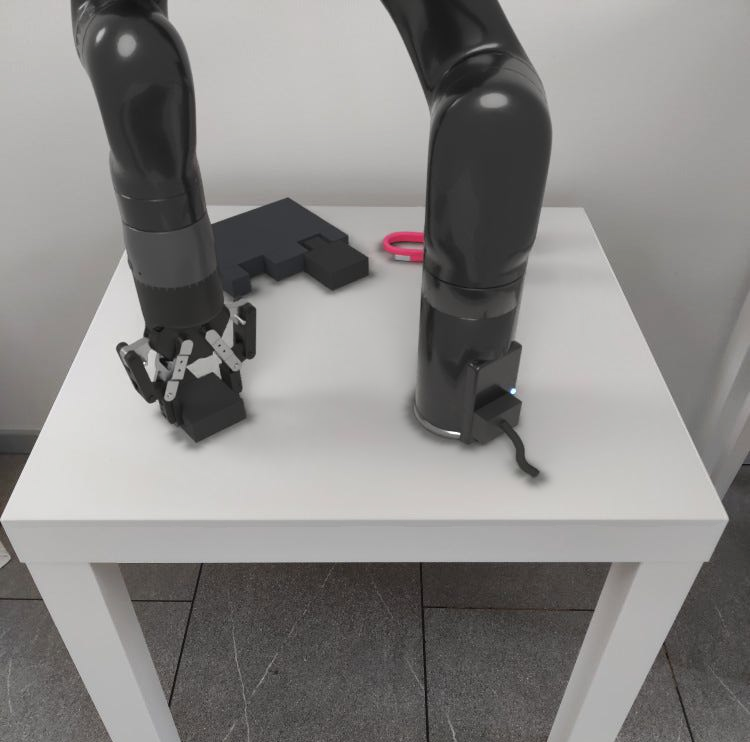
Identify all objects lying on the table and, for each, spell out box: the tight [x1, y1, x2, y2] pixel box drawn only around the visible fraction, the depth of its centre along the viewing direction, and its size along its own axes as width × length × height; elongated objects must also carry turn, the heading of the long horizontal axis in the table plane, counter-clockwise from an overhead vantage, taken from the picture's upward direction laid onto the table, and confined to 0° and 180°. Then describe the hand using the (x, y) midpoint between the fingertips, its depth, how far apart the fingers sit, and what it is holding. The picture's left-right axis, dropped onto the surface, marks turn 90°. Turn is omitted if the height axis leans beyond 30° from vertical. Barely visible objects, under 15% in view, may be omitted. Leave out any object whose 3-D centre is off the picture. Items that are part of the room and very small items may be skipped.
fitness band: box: [382, 231, 424, 262], centre depth 102 cm, size 8×6×2 cm
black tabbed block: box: [303, 237, 370, 291], centre depth 99 cm, size 8×6×2 cm
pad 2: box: [176, 367, 247, 444], centre depth 79 cm, size 8×6×2 cm
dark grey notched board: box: [211, 196, 350, 299], centre depth 101 cm, size 14×18×2 cm
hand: (204, 408), depth 79 cm, fingers closed on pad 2, 6 cm apart
